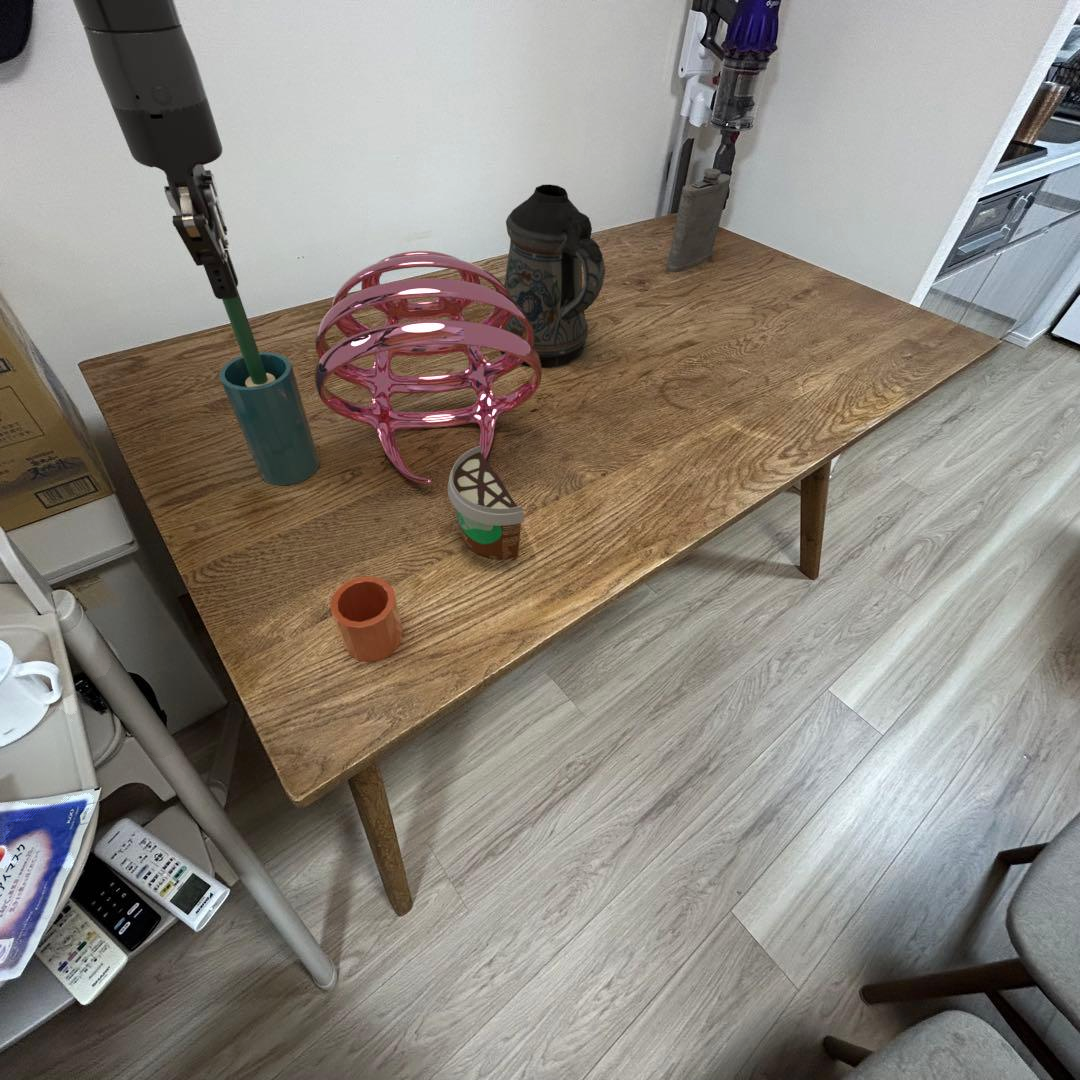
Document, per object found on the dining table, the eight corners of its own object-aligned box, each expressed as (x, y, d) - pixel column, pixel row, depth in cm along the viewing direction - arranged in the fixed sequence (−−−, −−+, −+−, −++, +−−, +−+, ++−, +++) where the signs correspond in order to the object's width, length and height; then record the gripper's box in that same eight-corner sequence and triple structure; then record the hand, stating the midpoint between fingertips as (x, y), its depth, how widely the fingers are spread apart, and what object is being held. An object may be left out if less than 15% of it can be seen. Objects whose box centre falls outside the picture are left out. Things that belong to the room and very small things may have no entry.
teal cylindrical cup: (258, 490, 79) (217, 393, 68) (259, 451, 84) (221, 356, 73) (321, 480, 81) (291, 384, 69) (318, 443, 86) (290, 348, 74)
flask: (716, 256, 134) (740, 165, 120) (677, 274, 127) (697, 180, 113) (703, 251, 135) (725, 160, 122) (664, 268, 129) (682, 174, 115)
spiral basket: (534, 426, 59) (501, 173, 62) (272, 471, 63) (254, 231, 66) (566, 482, 86) (542, 305, 90) (383, 511, 90) (366, 340, 93)
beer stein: (514, 312, 113) (516, 162, 94) (613, 335, 109) (635, 183, 90) (478, 356, 102) (472, 196, 84) (585, 382, 99) (604, 221, 80)
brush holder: (347, 670, 62) (332, 633, 57) (342, 622, 66) (328, 583, 61) (407, 656, 63) (398, 619, 58) (399, 610, 67) (390, 571, 62)
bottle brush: (260, 430, 75) (192, 251, 59) (260, 414, 77) (194, 237, 61) (288, 427, 76) (229, 248, 60) (288, 411, 78) (230, 235, 62)
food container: (437, 516, 77) (430, 456, 70) (481, 501, 79) (479, 442, 72) (475, 584, 70) (471, 526, 62) (522, 567, 72) (524, 508, 65)
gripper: (121, 75, 54) (194, 266, 67) (93, 117, 46) (184, 327, 59) (210, 74, 56) (265, 261, 69) (199, 114, 48) (265, 319, 60)
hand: (227, 291), depth 64 cm, fingers closed on bottle brush, 2 cm apart
